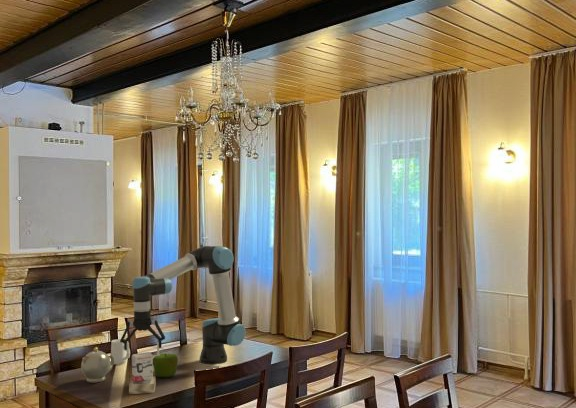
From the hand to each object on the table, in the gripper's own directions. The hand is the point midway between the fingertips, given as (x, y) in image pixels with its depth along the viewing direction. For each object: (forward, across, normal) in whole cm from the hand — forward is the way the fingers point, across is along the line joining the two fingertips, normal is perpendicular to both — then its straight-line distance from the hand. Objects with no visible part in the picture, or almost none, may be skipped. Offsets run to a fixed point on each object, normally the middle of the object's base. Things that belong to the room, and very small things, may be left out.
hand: (143, 356), depth 266 cm
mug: (+16, +16, -52) cm, 57 cm away
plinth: (+15, 0, 0) cm, 15 cm away
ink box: (+11, +1, 0) cm, 11 cm away
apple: (+16, -9, -20) cm, 27 cm away
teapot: (+15, +23, -20) cm, 34 cm away
